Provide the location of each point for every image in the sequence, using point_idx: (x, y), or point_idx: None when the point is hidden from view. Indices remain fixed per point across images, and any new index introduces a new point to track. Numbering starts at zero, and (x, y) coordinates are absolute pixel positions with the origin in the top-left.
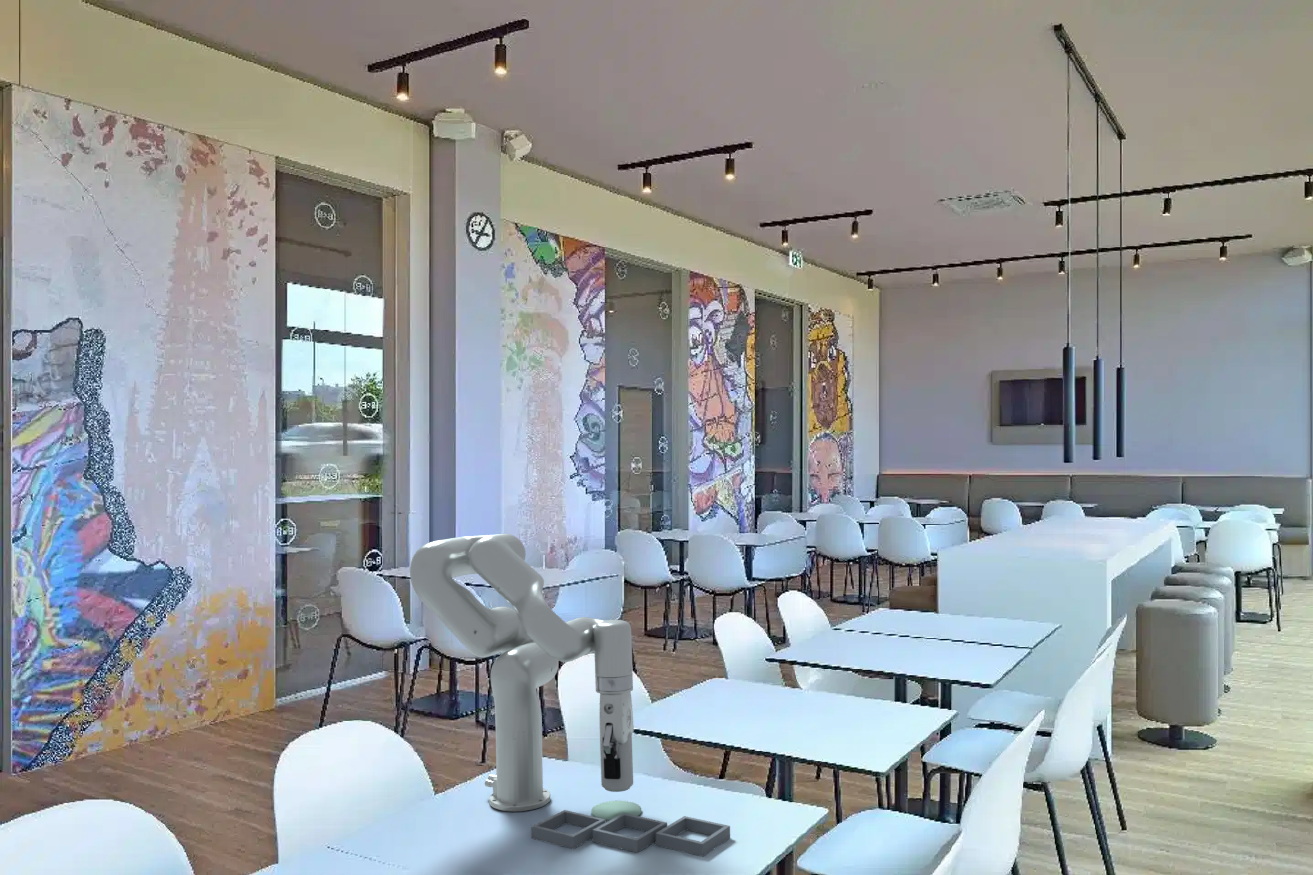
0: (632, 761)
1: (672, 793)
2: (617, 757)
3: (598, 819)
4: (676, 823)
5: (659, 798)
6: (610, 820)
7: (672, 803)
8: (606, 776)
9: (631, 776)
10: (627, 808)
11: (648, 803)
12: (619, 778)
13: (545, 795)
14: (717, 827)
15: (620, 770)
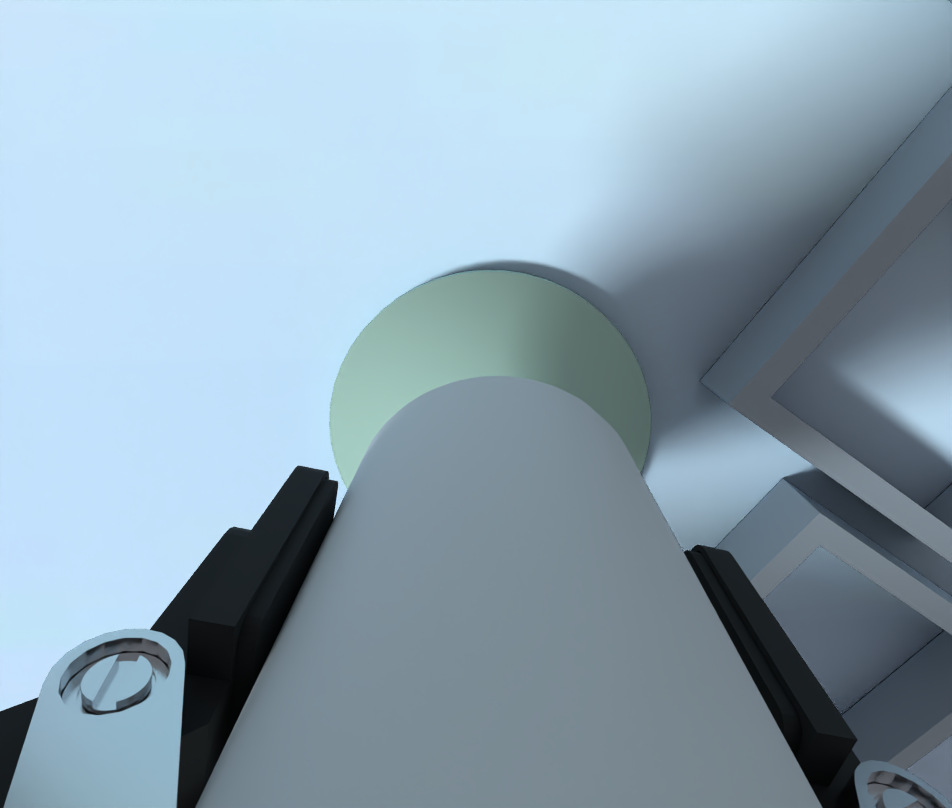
0: (520, 476)
1: (88, 8)
2: (900, 794)
3: (809, 552)
4: None
5: (215, 128)
6: (847, 484)
7: (321, 15)
8: None
9: (576, 421)
10: (477, 366)
11: (325, 217)
12: (721, 551)
13: None
14: None
15: (736, 593)
